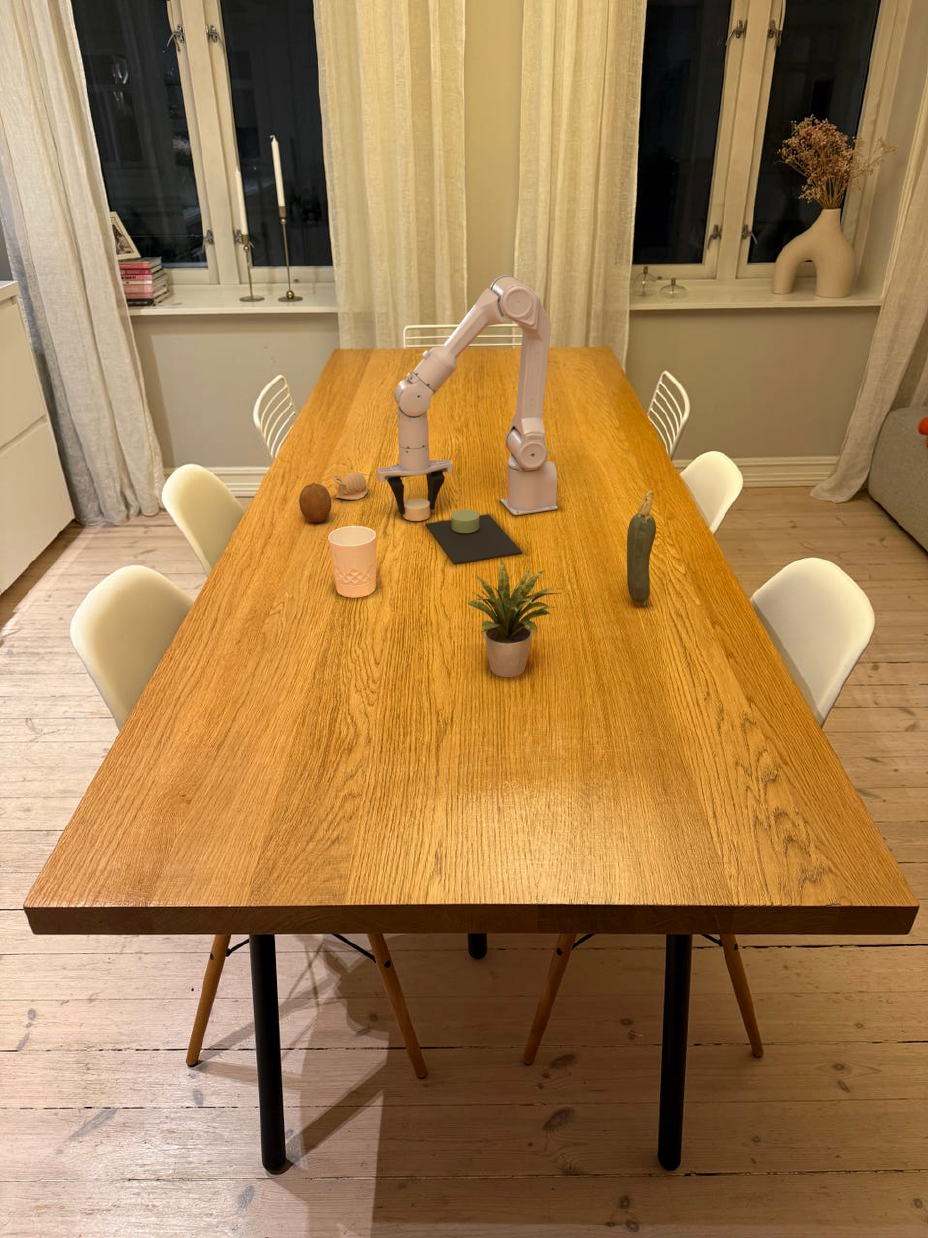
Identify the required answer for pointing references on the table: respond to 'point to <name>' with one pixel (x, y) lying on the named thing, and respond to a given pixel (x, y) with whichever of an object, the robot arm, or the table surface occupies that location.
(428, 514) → the cream cylinder
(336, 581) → the pink cup
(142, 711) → the table surface
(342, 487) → the decorative ornament
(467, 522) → the sage green puck
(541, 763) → the table surface
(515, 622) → the house plant
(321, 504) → the fruit
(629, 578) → the vegetable
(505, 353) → the table surface
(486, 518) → the mat
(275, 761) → the table surface
